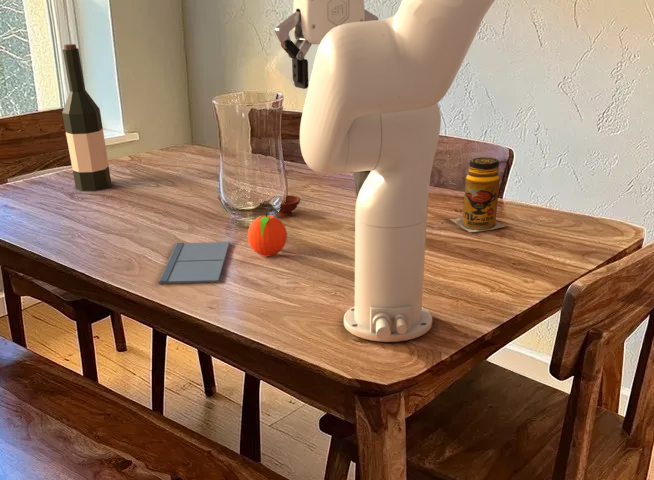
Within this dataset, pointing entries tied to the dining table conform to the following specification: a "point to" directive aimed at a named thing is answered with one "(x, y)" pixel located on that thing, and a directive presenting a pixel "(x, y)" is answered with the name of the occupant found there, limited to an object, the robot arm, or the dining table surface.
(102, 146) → the wine bottle
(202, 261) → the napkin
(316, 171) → the robot arm
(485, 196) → the condiment
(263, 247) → the clementine
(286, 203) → the pottery
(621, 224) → the dining table surface
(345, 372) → the dining table surface
